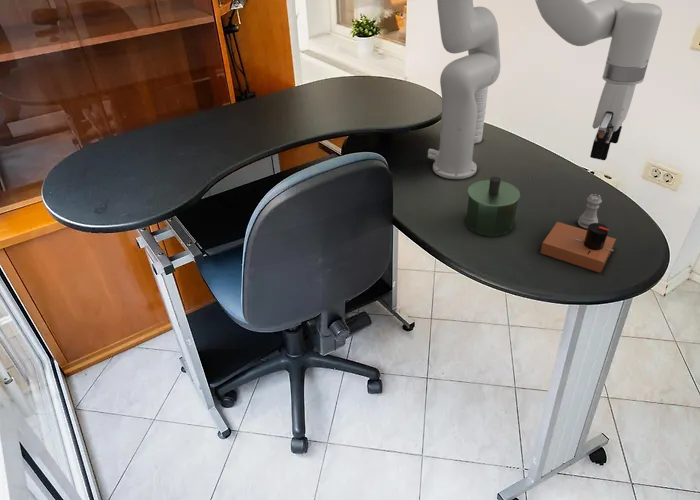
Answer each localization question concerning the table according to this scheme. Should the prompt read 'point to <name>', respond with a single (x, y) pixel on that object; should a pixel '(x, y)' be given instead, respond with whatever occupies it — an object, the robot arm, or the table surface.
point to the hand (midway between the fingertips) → (604, 150)
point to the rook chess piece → (590, 211)
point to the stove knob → (596, 236)
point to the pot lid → (493, 193)
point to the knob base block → (575, 247)
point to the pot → (490, 219)
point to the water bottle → (480, 112)
